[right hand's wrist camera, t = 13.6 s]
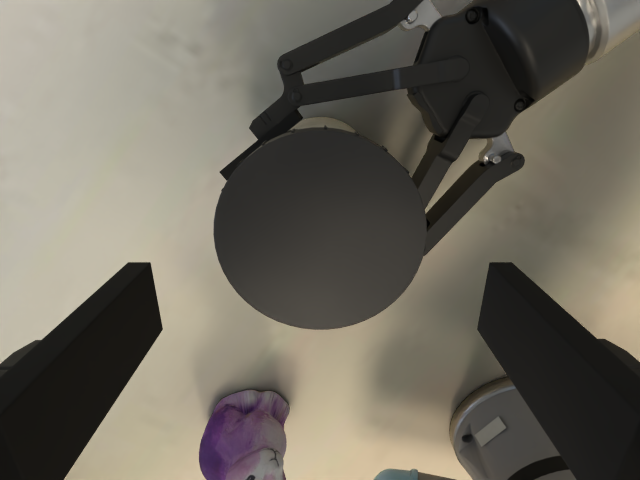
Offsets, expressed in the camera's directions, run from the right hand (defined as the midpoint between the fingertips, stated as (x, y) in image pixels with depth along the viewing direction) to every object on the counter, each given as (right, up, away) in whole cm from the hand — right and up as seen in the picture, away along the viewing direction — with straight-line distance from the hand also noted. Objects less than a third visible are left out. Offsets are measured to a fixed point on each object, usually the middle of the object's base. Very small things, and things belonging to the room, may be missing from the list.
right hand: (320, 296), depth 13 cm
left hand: (-4, +3, +15) cm, 16 cm away
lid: (0, +2, +5) cm, 6 cm away
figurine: (-8, -18, +31) cm, 37 cm away
